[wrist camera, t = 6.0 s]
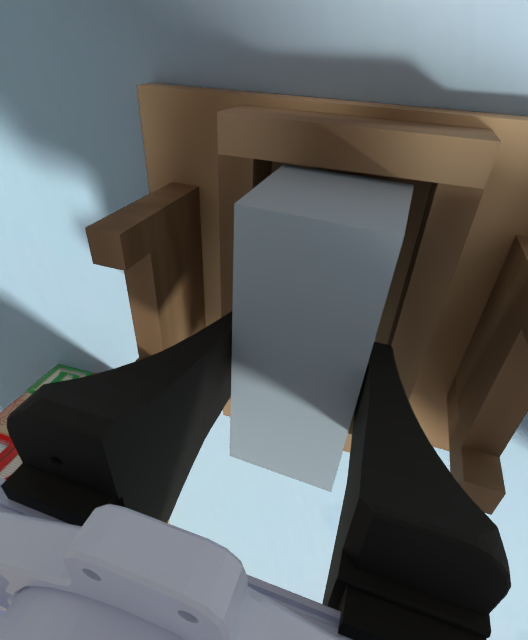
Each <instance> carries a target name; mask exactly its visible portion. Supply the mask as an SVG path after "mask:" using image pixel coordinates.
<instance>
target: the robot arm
mask: <svg viewBox="0 0 528 640" xmlns="http://www.w3.org/2000/svg"><path fill="white" fill-rule="evenodd" d="M231 365H232V311H231V312H230V313H228V314H226V315H225V316H223V317H222V318H220V319H218V320H217V321H215V322H214V323H212V324H210V325H209V326H207V327H205V328H204V329H202V330H200V331H199V332H197V333H195V334H194V335H192V336H190V337H188V338H186V339H184V340H183V341H181V342H179V343H177V344H175V345H173V346H171V347H169V348H167V349H165V350H163V351H161V352H159V353H156V354H154V355H151V356H149V357H147V358H144V359H142V360H139V361H136V362H133V363H130V364H127V365H124V366H121V367H118V368H116V369H112V370H109V371H105V372H101V373H98V374H94V375H89V376H85V377H81V378H76V379H71V380H65V381H60V382H54V383H48V384H43V385H42V386H41V387H40V388H38V389H37V390H36V391H35V392H34V393H33V394H32V395H31V396H29V397H28V398H27V399H26V400H25V401H24V402H23V403H21V404H20V405H19V406H18V407H17V408H16V409H15V410H13V411H12V412H11V413H10V414H9V416H8V418H7V430H8V433H9V436H10V438H11V440H12V442H13V444H14V446H15V448H16V450H17V452H18V454H19V456H20V458H21V460H22V462H23V463H22V464H21V465H20V466H19V467H18V468H17V469H16V470H15V471H14V472H13V473H12V474H11V476H10V477H9V478H8V479H7V480H6V479H3V478H1V477H0V640H486V638H489V637H490V634H491V626H490V617H489V613H490V612H491V611H492V610H493V609H494V608H495V607H496V606H497V605H498V604H499V603H500V601H501V600H502V599H503V598H504V597H505V596H506V595H507V593H508V591H509V589H510V587H511V581H510V571H509V565H508V560H507V557H506V553H505V550H504V546H503V543H502V540H501V537H500V533H499V530H498V528H497V526H496V525H495V524H494V523H493V522H492V521H491V520H490V518H489V517H488V516H487V515H486V514H485V513H484V512H483V511H482V510H481V509H480V508H479V507H478V506H477V504H476V503H475V502H474V501H473V500H472V499H471V498H470V497H469V496H468V494H467V493H466V492H465V491H464V490H463V488H462V487H461V486H460V485H459V483H458V482H457V481H456V480H455V478H454V477H453V476H452V474H451V473H450V471H449V470H448V469H447V467H446V466H445V464H444V463H443V462H442V460H441V459H440V457H439V456H438V454H437V453H436V451H435V450H434V448H433V446H432V445H431V443H430V442H429V440H428V438H427V436H426V435H425V433H424V431H423V429H422V428H421V426H420V424H419V422H418V420H417V418H416V416H415V414H414V411H413V409H412V407H411V405H410V403H409V400H408V398H407V395H406V393H405V390H404V387H403V385H402V382H401V379H400V376H399V373H398V369H397V366H396V362H395V357H394V351H393V348H392V346H391V345H387V344H383V343H378V342H374V344H373V347H372V351H371V354H370V358H369V361H368V365H367V368H366V372H365V375H364V379H363V382H362V386H361V389H360V393H359V396H358V400H357V403H356V407H355V412H354V419H353V429H352V439H351V450H350V460H349V470H348V478H347V485H346V491H345V496H344V501H343V506H342V511H341V516H340V521H339V526H338V531H337V536H336V541H335V545H334V550H333V555H332V560H331V565H330V570H329V575H328V580H327V584H326V589H325V594H324V599H323V604H320V603H318V602H315V601H313V600H310V599H307V598H305V597H302V596H300V595H297V594H295V593H292V592H290V591H287V590H285V589H282V588H280V587H277V586H274V585H272V584H269V583H267V582H264V581H262V580H259V579H257V578H254V577H252V576H249V575H247V574H246V572H245V570H244V568H243V565H242V563H241V561H240V560H239V559H238V558H237V557H236V556H235V555H234V554H232V553H231V552H230V551H229V550H228V549H227V548H225V547H223V546H221V545H219V544H217V543H215V542H213V541H211V540H209V539H207V538H204V537H202V536H199V535H197V534H194V533H191V532H189V531H186V530H183V529H181V528H178V527H176V526H173V525H170V524H168V521H169V518H170V516H171V514H172V511H173V509H174V507H175V504H176V502H177V499H178V497H179V495H180V492H181V490H182V488H183V485H184V483H185V481H186V479H187V476H188V474H189V472H190V470H191V468H192V465H193V463H194V461H195V459H196V457H197V455H198V453H199V450H200V448H201V446H202V444H203V442H204V440H205V438H206V436H207V435H208V433H209V431H210V429H211V428H212V426H213V424H214V423H215V421H216V419H217V418H218V416H219V415H220V413H221V411H222V410H223V408H224V406H225V405H226V403H227V402H228V400H229V398H230V397H231Z"/></svg>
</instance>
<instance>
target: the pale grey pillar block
mask: <svg viewBox="0 0 528 640" xmlns="http://www.w3.org/2000/svg"><path fill="white" fill-rule="evenodd" d="M413 188H414V185H413V184H406V183H400V182H394V181H388V180H382V179H375V178H369V177H363V176H357V175H351V174H344V173H338V172H332V171H326V170H320V169H314V168H307V167H301V166H295V165H289V164H284V165H282V166H281V167H280V168H278V169H277V170H276V171H275V172H273V173H272V174H271V175H270V176H268V177H267V178H266V179H265V180H263V181H262V182H261V183H260V184H258V185H257V186H256V187H255V188H253V189H252V190H251V191H250V192H248V193H247V194H246V195H244V196H243V197H242V198H241V199H239V200H238V201H237V202H236V203H234V252H233V308H232V365H231V421H230V456H232V457H235V458H238V459H240V460H243V461H246V462H249V463H252V464H254V465H257V466H260V467H263V468H266V469H268V470H271V471H274V472H277V473H279V474H282V475H285V476H288V477H291V478H293V479H296V480H299V481H302V482H305V483H307V484H310V485H313V486H316V487H319V488H321V489H324V490H327V491H330V492H331V490H332V487H333V483H334V480H335V476H336V473H337V469H338V466H339V462H340V459H341V455H342V452H343V448H344V445H345V441H346V438H347V434H348V431H349V427H350V424H351V420H352V417H353V414H354V410H355V407H356V403H357V400H358V396H359V393H360V389H361V386H362V382H363V379H364V375H365V372H366V368H367V365H368V361H369V358H370V354H371V351H372V347H373V344H374V340H375V337H376V333H377V330H378V326H379V323H380V319H381V316H382V312H383V309H384V305H385V302H386V298H387V295H388V291H389V288H390V284H391V281H392V277H393V274H394V270H395V267H396V263H397V260H398V256H399V253H400V249H401V246H402V243H403V239H404V235H405V230H406V225H407V219H408V214H409V209H410V203H411V198H412V193H413Z"/></svg>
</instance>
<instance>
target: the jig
mask: <svg viewBox="0 0 528 640" xmlns="http://www.w3.org/2000/svg"><path fill="white" fill-rule="evenodd" d="M137 91H138V100H139V108H140V117H141V125H142V133H143V142H144V150H145V158H146V167H147V175H148V184H149V192H150V194H148V195H146V196H144V197H143V198H141V199H139V200H137V201H135V202H133V203H131V204H129V205H127V206H126V207H124V208H122V209H120V210H118V211H116V212H114V213H112V214H110V215H109V216H107V217H105V218H103V219H101V220H99V221H97V222H95V223H93V224H91V225H90V226H88V227H86V228H85V229H86V234H87V238H88V243H89V247H90V252H91V256H92V261H93V264H97V265H101V266H106V267H110V268H115V269H120V270H124V274H125V279H126V285H127V291H128V296H129V302H130V308H131V313H132V319H133V325H134V331H135V336H136V342H137V348H138V353H139V358H138V359H137V360H136V361H139V360H142V359H144V358H147V357H149V356H151V355H154V354H156V353H159V352H161V351H163V350H165V349H167V348H169V347H171V346H173V345H175V344H177V343H179V342H181V341H183V340H184V339H186V338H188V337H190V336H192V335H194V334H195V333H197V332H199V331H200V330H202V329H204V328H205V327H207V326H209V325H210V324H212V323H214V322H215V321H217V320H218V319H220V318H222V317H223V316H225V315H226V314H228V313H230V312H231V311H232V308H233V252H234V203H236V202H237V201H238V200H239V199H241V198H242V197H243V196H244V195H246V194H247V193H248V192H250V191H251V190H252V189H253V188H255V187H256V186H257V185H258V184H260V183H261V182H262V181H263V180H265V179H266V178H267V177H268V176H270V175H271V174H272V173H273V172H275V171H276V170H277V169H278V168H280V167H281V166H282V165H284V164H289V165H295V166H301V167H307V168H314V169H320V170H326V171H332V172H338V173H344V174H351V175H357V176H363V177H369V178H375V179H382V180H388V181H394V182H400V183H406V184H413V185H414V188H413V193H412V198H411V203H410V209H409V214H408V219H407V225H406V230H405V235H404V239H403V243H402V246H401V249H400V253H399V256H398V260H397V263H396V267H395V270H394V274H393V277H392V281H391V284H390V288H389V291H388V295H387V298H386V302H385V305H384V309H383V312H382V316H381V319H380V323H379V326H378V330H377V333H376V337H375V340H374V342H378V343H383V344H387V345H391V346H392V348H393V351H394V357H395V362H396V366H397V369H398V373H399V376H400V379H401V382H402V385H403V387H404V390H405V393H406V395H407V398H408V400H409V403H410V405H411V407H412V409H413V411H414V414H415V416H416V418H417V420H418V422H419V424H420V426H421V428H422V429H423V431H424V433H425V435H426V436H427V438H428V440H429V442H430V443H431V445H432V446H433V447H436V448H440V449H443V450H447V451H450V471H451V474H452V476H453V477H454V478H455V480H456V481H457V482H458V483H459V485H460V486H461V487H462V488H463V490H464V491H465V492H466V493H467V494H468V496H469V497H470V498H471V499H472V500H473V501H474V502H475V503H476V504H477V506H478V507H479V508H480V509H481V510H482V511H483V512H484V513H487V514H492V513H493V511H494V510H495V509H496V507H497V506H498V504H499V503H500V501H501V500H502V498H503V497H504V495H505V494H506V493H505V487H504V481H503V475H502V469H501V463H500V455H501V454H502V452H503V451H504V449H505V447H506V446H507V444H508V442H509V441H510V439H511V437H512V436H513V434H514V433H515V431H516V429H517V428H518V426H519V424H520V423H521V421H522V419H523V418H524V416H525V415H526V413H527V411H528V116H516V115H505V114H494V113H483V112H472V111H460V110H449V109H438V108H427V107H415V106H404V105H393V104H382V103H371V102H359V101H348V100H337V99H326V98H314V97H303V96H292V95H281V94H270V93H258V92H247V91H236V90H225V89H213V88H202V87H191V86H180V85H169V84H157V83H148V84H140V85H137ZM136 361H135V362H136ZM354 412H355V410H354ZM223 415H226V416H229V417H231V397H230V398H229V400H228V402H227V403H226V405H225V406H224V408H223ZM353 419H354V414H353V417H352V420H351V424H350V427H349V431H348V434H347V438H346V441H345V445H344V448H343V451H346V452H350V450H351V439H352V429H353Z"/></svg>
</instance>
